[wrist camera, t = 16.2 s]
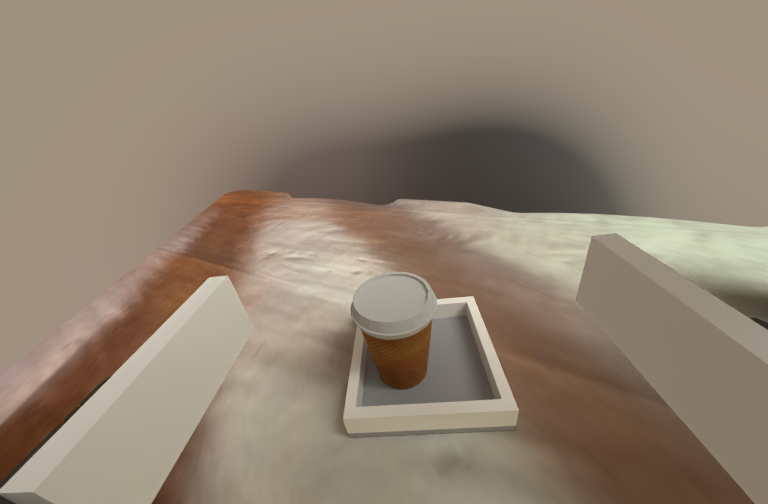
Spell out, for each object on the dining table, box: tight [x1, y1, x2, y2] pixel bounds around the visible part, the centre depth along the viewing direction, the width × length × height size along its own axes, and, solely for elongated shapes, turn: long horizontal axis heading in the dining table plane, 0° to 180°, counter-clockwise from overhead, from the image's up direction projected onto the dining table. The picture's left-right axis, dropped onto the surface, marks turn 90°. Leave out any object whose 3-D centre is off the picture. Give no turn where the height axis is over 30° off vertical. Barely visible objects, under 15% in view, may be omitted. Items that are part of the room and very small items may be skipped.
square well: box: [343, 296, 519, 438], centre depth 36 cm, size 17×17×4 cm
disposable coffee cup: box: [351, 272, 437, 389], centre depth 33 cm, size 10×10×12 cm
